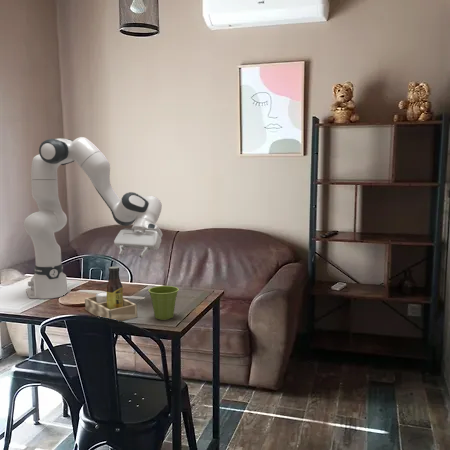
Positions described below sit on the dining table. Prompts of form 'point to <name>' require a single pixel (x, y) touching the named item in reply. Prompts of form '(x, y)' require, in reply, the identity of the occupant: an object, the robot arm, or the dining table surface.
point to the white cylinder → (101, 297)
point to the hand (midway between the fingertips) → (131, 256)
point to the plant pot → (163, 301)
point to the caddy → (119, 313)
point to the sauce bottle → (114, 289)
